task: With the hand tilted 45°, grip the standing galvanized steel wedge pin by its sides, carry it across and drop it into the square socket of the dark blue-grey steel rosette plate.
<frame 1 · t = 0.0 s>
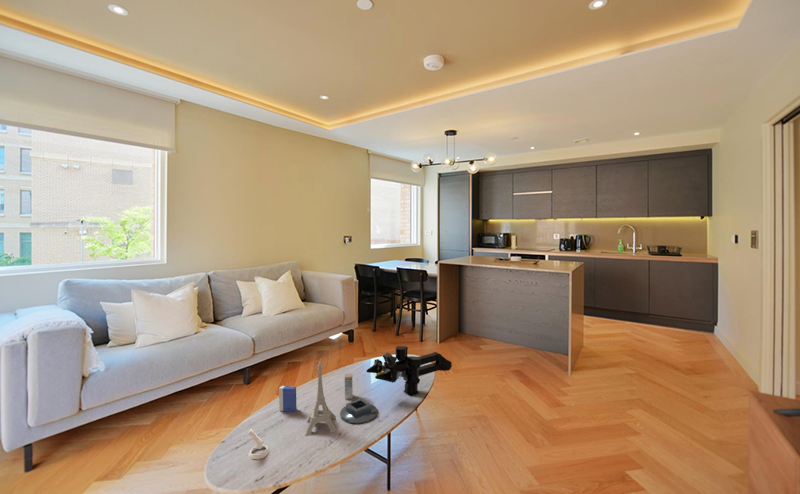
hand: (370, 374, 172), 17 cm above the table, tool horizontal, fingers open, 9 cm apart
wedge pin: (348, 397, 182), on the table
walkman: (288, 410, 169), on the table
hook: (258, 454, 136), on the table
eiffel tower: (320, 425, 156), on the table
rosette: (358, 413, 165), on the table
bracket: (383, 375, 211), on the table
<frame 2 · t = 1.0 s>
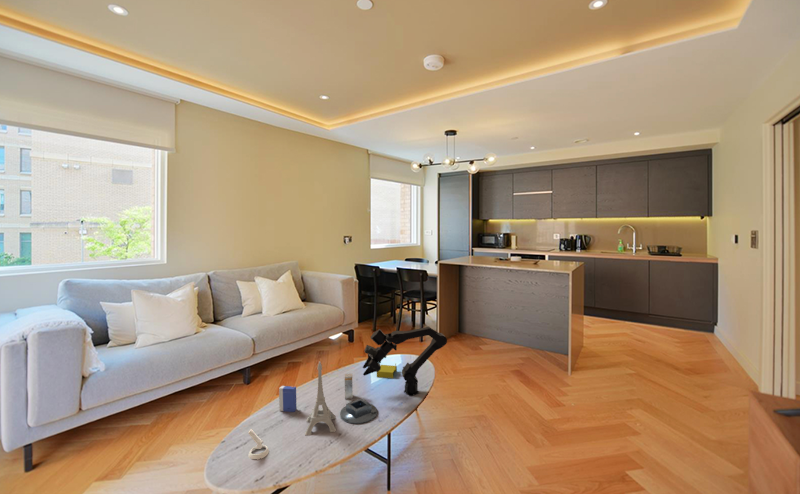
hand: (363, 371, 182), 14 cm above the table, tool tilted 45°, fingers open, 9 cm apart
nothing on the table moved.
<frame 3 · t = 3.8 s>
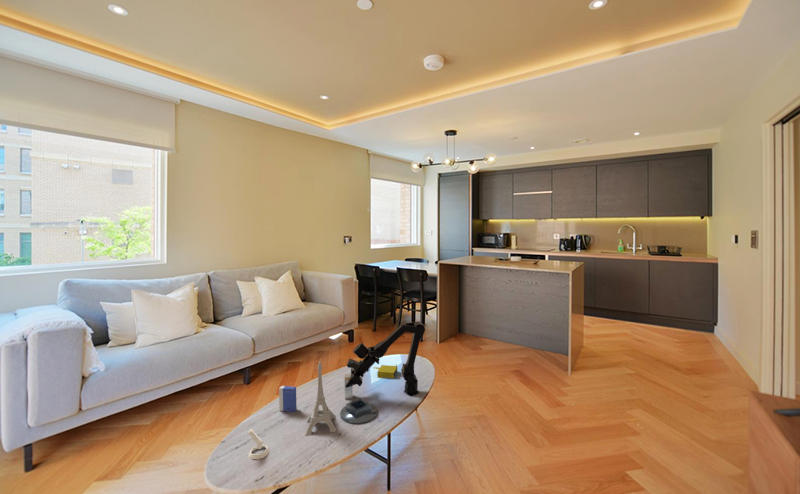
hand: (346, 385, 181), 7 cm above the table, tool tilted 45°, fingers closed on wedge pin, 4 cm apart
wedge pin: (348, 397, 182), on the table, touching gripper
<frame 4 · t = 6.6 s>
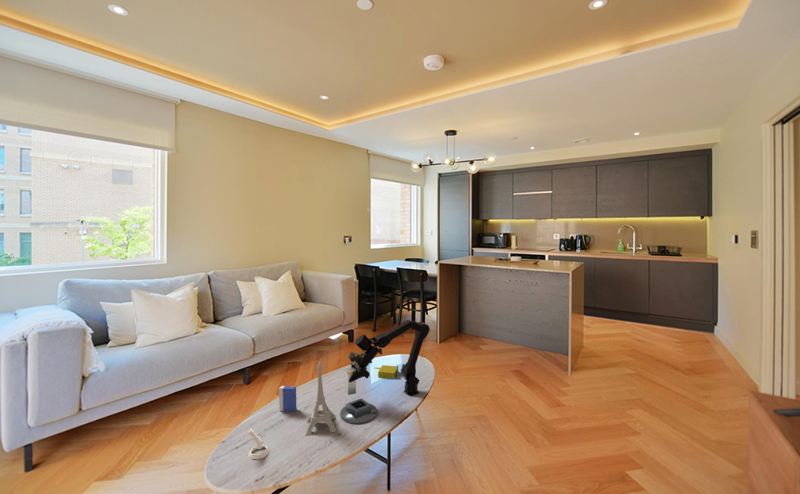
hand: (348, 380, 172), 13 cm above the table, tool tilted 45°, fingers closed on wedge pin, 4 cm apart
wedge pin: (351, 392, 173), point 7 cm above the table, touching gripper
when the fingers open (9 cm above the table, at t = 9.7 s): wedge pin drops 2 cm, resting on rosette.
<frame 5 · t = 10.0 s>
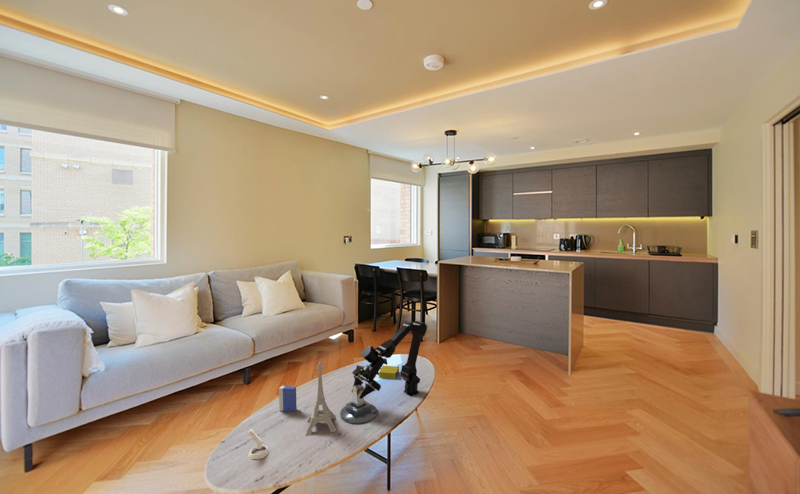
hand: (356, 395, 164), 10 cm above the table, tool tilted 45°, fingers open, 7 cm apart
wedge pin: (358, 411, 165), point 1 cm above the table, touching rosette
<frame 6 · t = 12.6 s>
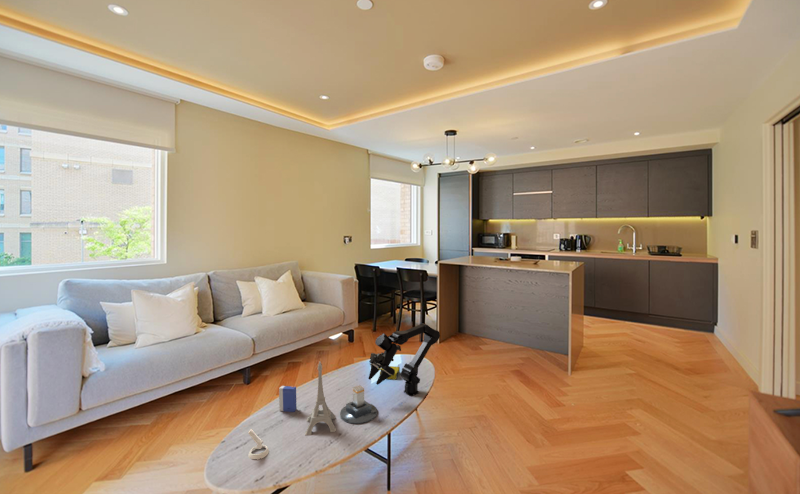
hand: (372, 381, 170), 13 cm above the table, tool tilted 40°, fingers open, 9 cm apart
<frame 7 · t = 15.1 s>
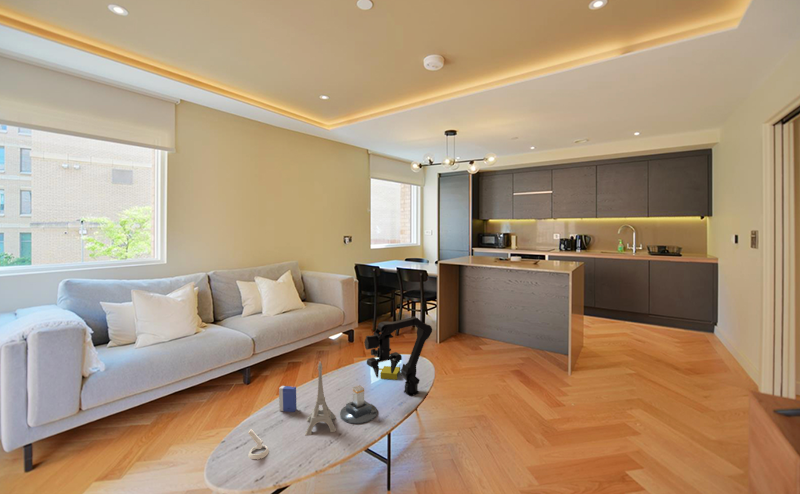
hand: (384, 375, 179), 13 cm above the table, tool pointing down, fingers open, 9 cm apart
at the end: wedge pin 0.0 cm off-centre on the rosette, point 1.0 cm above the rosette's base; wedge pin tilted 0°; the gripper is holding nothing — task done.
